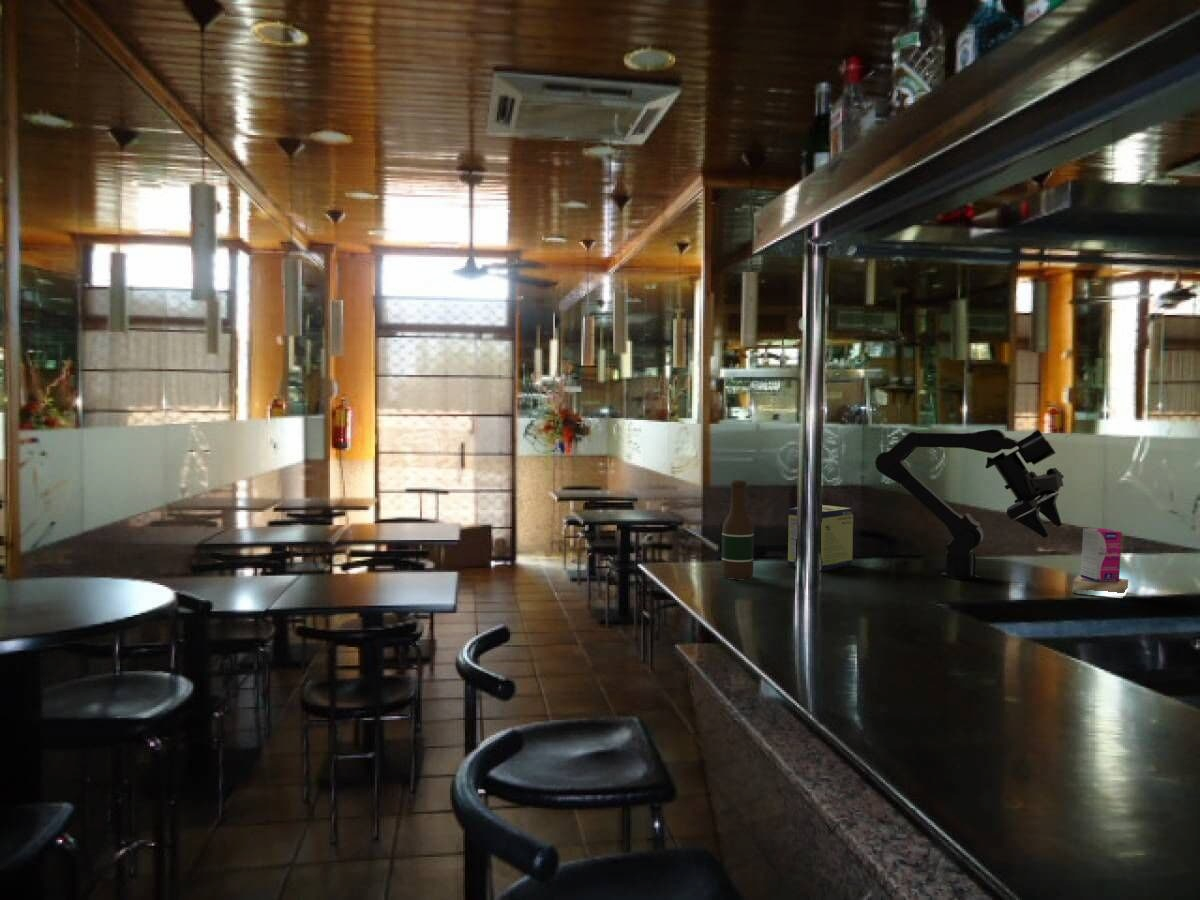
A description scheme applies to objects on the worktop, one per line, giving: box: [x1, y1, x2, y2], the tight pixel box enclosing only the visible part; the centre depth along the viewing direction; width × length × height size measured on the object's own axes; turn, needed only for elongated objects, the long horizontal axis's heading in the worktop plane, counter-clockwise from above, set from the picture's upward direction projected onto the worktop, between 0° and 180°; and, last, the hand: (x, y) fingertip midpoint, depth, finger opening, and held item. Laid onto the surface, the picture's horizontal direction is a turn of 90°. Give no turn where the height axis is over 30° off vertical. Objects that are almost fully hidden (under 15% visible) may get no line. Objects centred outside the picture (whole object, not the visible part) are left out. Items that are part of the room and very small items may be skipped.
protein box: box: [787, 504, 854, 572], centre depth 239 cm, size 10×16×16 cm
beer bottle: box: [721, 479, 755, 580], centre depth 221 cm, size 8×8×24 cm
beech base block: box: [1072, 574, 1129, 593], centre depth 206 cm, size 10×10×3 cm
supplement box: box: [1080, 527, 1123, 581], centre depth 206 cm, size 6×6×12 cm
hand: (1053, 531), depth 214 cm, fingers open, 9 cm apart
